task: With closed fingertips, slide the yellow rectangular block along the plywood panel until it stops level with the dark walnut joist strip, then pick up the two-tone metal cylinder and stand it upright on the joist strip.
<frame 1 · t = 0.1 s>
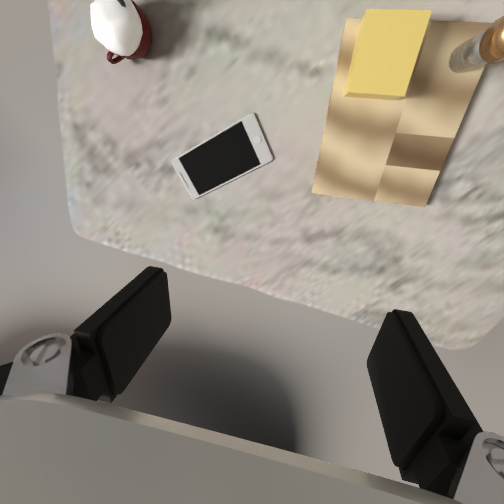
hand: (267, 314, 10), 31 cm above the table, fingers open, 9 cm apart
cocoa: (140, 35, 33), on the table
yellow rectangular block: (376, 64, 29), point 1 cm above the table, touching subfloor panel
smartphone: (221, 159, 39), on the table
two-tone metal cylinder: (463, 57, 27), point 1 cm above the table, touching subfloor panel
subfloor panel: (387, 123, 32), on the table
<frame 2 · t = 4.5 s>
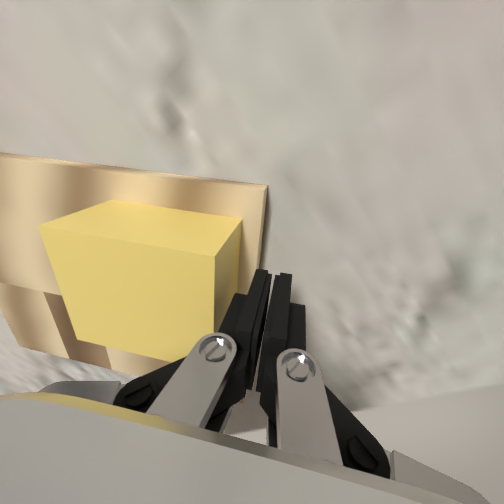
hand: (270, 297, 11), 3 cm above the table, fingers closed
yellow rectangular block: (177, 260, 14), point 1 cm above the table, touching gripper
subfloor panel: (115, 283, 17), on the table
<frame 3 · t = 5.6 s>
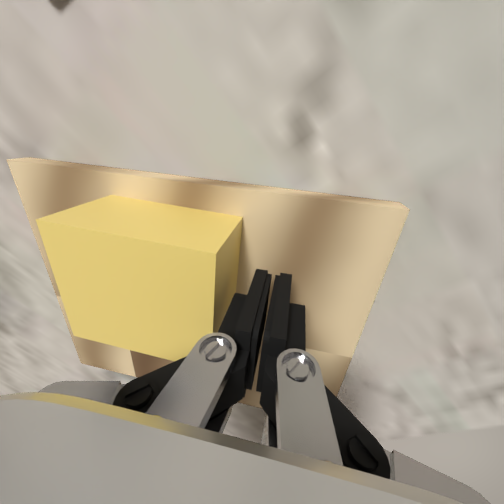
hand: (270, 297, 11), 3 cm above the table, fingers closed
yellow rectangular block: (177, 257, 13), point 1 cm above the table, touching gripper
subfloor panel: (198, 300, 16), on the table
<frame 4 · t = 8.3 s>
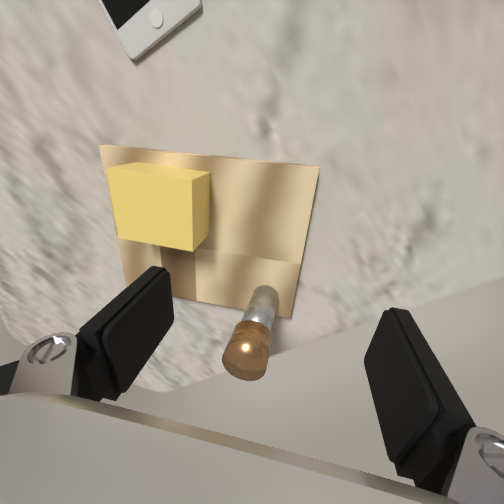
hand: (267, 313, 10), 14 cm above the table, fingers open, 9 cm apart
yellow rectangular block: (174, 199, 23), point 1 cm above the table, touching subfloor panel
two-tone metal cylinder: (265, 296, 26), point 1 cm above the table, touching subfloor panel
subfloor panel: (207, 235, 26), on the table
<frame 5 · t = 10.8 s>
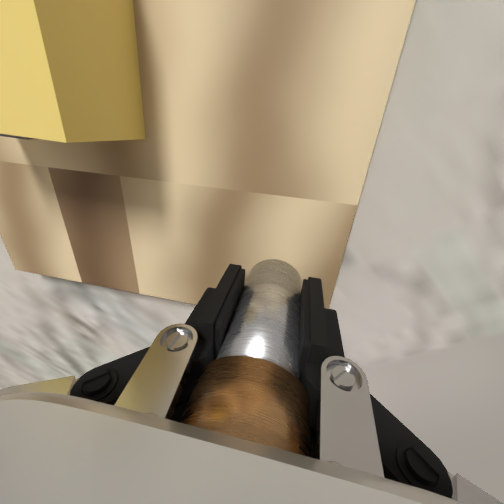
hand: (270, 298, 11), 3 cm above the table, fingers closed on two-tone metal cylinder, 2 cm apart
yellow rectangular block: (57, 46, 10), point 1 cm above the table, touching subfloor panel
two-tone metal cylinder: (274, 282, 13), point 1 cm above the table, touching gripper, subfloor panel
subfloor panel: (150, 153, 12), on the table
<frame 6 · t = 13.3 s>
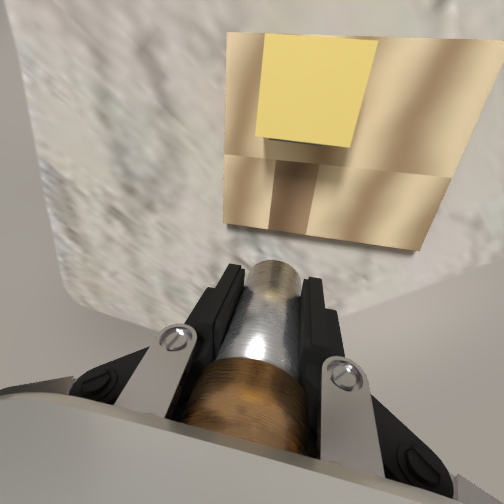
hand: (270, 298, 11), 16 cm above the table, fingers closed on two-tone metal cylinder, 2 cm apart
yellow rectangular block: (309, 100, 20), point 1 cm above the table, touching subfloor panel
two-tone metal cylinder: (273, 283, 13), point 15 cm above the table, touching gripper
subfloor panel: (332, 152, 22), on the table
when the fingers open (3 cm above the table, at t = 15.6 s): two-tone metal cylinder stays where it is, resting on subfloor panel.
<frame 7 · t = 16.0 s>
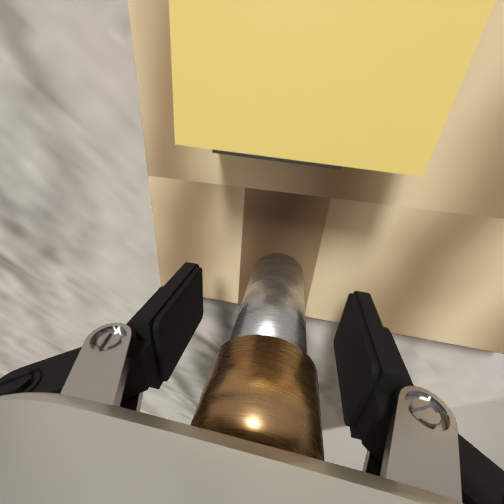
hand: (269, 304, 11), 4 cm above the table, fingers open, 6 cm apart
yellow rectangular block: (310, 63, 9), point 1 cm above the table, touching subfloor panel
two-tone metal cylinder: (277, 275, 13), point 1 cm above the table, touching subfloor panel
subfloor panel: (355, 173, 11), on the table
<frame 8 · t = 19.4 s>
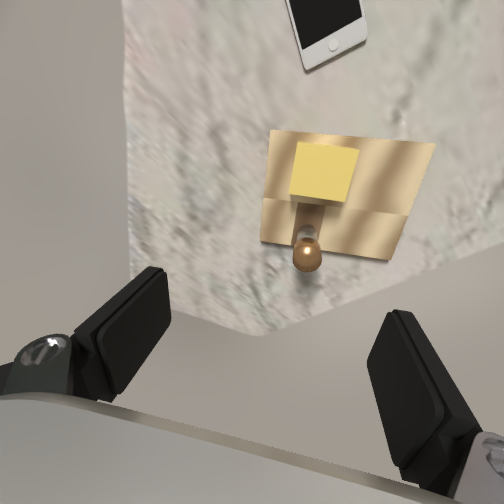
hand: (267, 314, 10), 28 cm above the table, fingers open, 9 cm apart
yellow rectangular block: (319, 168, 32), point 1 cm above the table, touching subfloor panel
two-tone metal cylinder: (306, 233, 37), point 1 cm above the table, touching subfloor panel
subfloor panel: (333, 197, 35), on the table
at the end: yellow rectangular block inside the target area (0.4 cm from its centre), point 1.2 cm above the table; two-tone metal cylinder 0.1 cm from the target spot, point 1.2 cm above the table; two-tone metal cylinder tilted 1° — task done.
